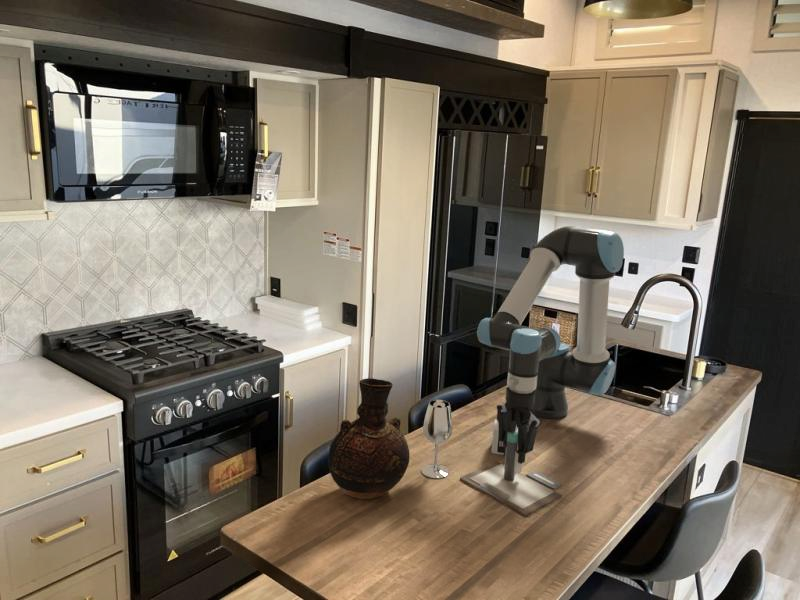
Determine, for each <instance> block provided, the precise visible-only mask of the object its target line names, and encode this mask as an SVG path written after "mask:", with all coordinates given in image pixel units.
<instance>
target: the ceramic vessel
mask: <svg viewBox="0 0 800 600" xmlns="http://www.w3.org/2000/svg"><path fill="white" fill-rule="evenodd" d="M392 388H393V383H392V382H391V381H389V380H385V379H377V378H373V377H371V378H363V379H361V380H359V391H360V394H361V395H360V396H361V400H360V401H361V402H360V404H359V405H358V407H357V409H356V410H357V411H356V413H357V415H358V418H356V419H354V420H353V421H350V420H348V419H343V420H342V421H341V423H340V429H339V431H338V432H337V434H335V436H334V438H333V439H332V441H331V443H330V446H329V450H328V455H327V456H328V457H327V464H328V470H329V473H330V476H331V478H332V480H333V482H334V483H336V485H337V486H338V487H339V488H340V490H342V491H343V492H344V493H345V494H346V495H348V496H351V497H353V498H354V499H355V498H357V499H359V500H373V499H376V498H379V497H382V496H383V495H385V494H386V493H388V492H389V491H391V490H392V489H393V488H395V487H396V485H397V484H399V482H400V481H401V480H402V478H403V477H404V475H405V473H406V471H407V469H408V467H409V464H410V448H409V444H408V442H407V439H406V438H405V436H404V434H403V433H402V431H401V430H400V427H401V419H400V418H398V417H395V418H391V419H387V418H386V416H387V415H388V413H389V404H388V399H389V398H388V397H389V395H390V393H391V389H392Z"/></svg>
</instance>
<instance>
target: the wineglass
mask: <svg viewBox="0 0 800 600" xmlns="http://www.w3.org/2000/svg"><path fill="white" fill-rule="evenodd" d="M451 409H452V408H451V404H450V402H448V401H447V400H444V399H433V400H430V401H429V403H428V406H427V409H426V413H425V415H424V421H423V428H422V429H423V434H424V436H425V438H426V440H428V441H429V442H430V443H432V444H434V462H433V463H428V464H425V465H424V466H422V467H421V470H420V472H421V474H423V475H424V476H425V477H428V478H431V479H444V478H446V477H447V476H448V475H449V474H450V472H449V469H448V468H447V467H446V466H444V465H442V464H438V453H439V451H438V450H439V446H440V445H441V444H444V443H446V442H447V441H448V440H449V439H450V438H451V436H452V434H453V416H452V410H451Z"/></svg>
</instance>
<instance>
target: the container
mask: <svg viewBox="0 0 800 600" xmlns="http://www.w3.org/2000/svg"><path fill="white" fill-rule="evenodd" d="M496 411H497V413H496V419H494V423H493V431H492V440H491V441H492V442H491V454H495V455H502V456H504V443H503V442H502V441H500V440H499V425H498V410H497V409H496ZM515 432H517V433H518V427H517V425H516V429H515ZM517 450H518V446H517Z"/></svg>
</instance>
